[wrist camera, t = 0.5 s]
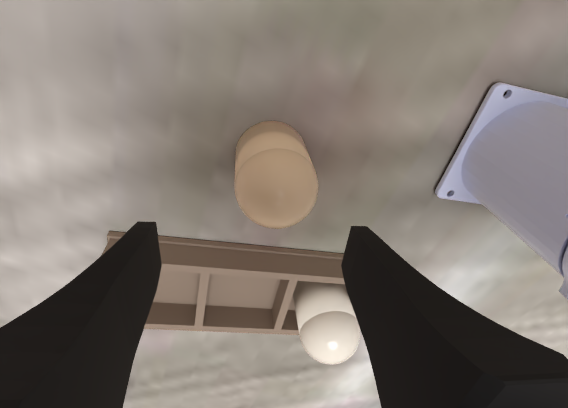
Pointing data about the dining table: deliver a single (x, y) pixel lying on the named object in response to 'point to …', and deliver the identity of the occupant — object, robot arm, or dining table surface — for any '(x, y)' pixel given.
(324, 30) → the dining table surface
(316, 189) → the tan egg
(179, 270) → the egg carton
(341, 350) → the cream egg
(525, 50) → the dining table surface
